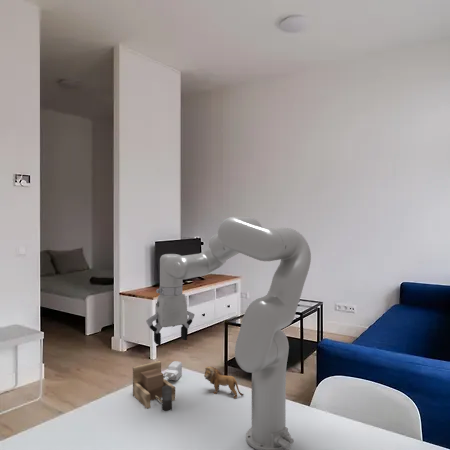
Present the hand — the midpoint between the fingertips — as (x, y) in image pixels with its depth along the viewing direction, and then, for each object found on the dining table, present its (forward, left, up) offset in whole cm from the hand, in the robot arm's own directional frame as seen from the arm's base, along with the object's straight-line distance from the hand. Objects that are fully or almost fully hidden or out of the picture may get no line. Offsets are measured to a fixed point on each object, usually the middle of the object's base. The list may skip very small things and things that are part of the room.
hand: (171, 341), depth 135 cm
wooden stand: (+7, +3, -21) cm, 22 cm away
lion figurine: (-4, -18, -21) cm, 28 cm away
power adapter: (+16, -9, -21) cm, 28 cm away
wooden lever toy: (+4, +3, -21) cm, 21 cm away
